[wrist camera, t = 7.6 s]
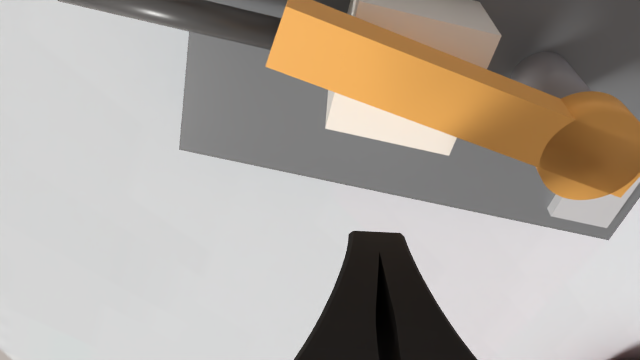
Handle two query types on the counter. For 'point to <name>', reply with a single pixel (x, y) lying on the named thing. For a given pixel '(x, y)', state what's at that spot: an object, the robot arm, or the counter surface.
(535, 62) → the grey piece
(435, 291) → the counter surface
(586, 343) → the counter surface
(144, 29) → the counter surface
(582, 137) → the clip
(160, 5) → the plug
